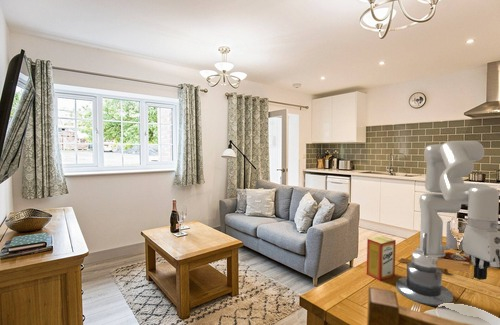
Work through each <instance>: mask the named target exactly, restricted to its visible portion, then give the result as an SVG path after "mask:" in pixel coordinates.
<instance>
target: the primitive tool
mask: <svg viewBox="0 0 500 325" xmlns="http://www.w3.org/2000/svg"><path fill="white" fill-rule="evenodd" d="M397 262H398V263H401V264H406V265H407V264H408V263H409V262H412V259H408V258H403V257H402V258H400V259H399V260H398V261H397ZM439 269H440V270H441V271H442V274H444V275H447V274H448V272H449V271H448V269H443V268H439Z"/></svg>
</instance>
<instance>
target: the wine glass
mask: <svg viewBox="0 0 500 325" xmlns="http://www.w3.org/2000/svg"><path fill="white" fill-rule="evenodd" d="M451 221H452V220H449V221H446V240H445V246H449V247H450V250H451V249H452V250H457V240H456V238H454V236H453V235H452V233H451V230H450V222H451ZM461 250H463V240H462V241H461V242H460V245H459V250H457V251H461Z"/></svg>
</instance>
